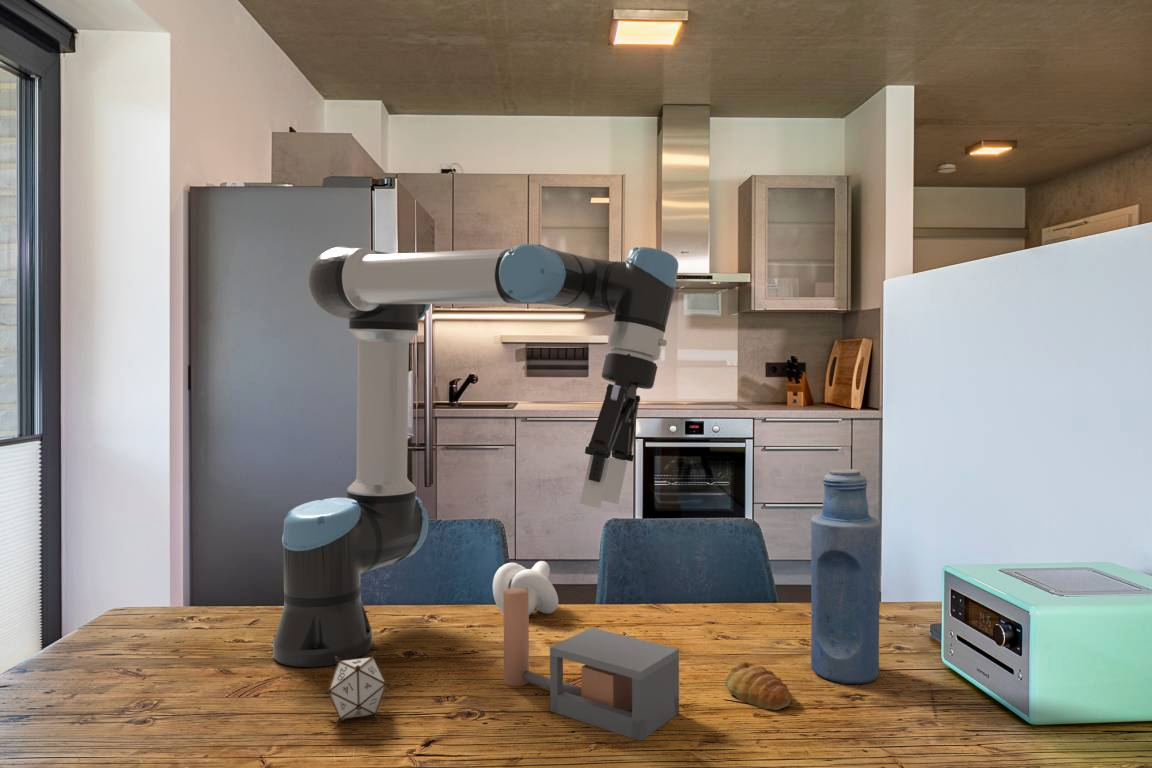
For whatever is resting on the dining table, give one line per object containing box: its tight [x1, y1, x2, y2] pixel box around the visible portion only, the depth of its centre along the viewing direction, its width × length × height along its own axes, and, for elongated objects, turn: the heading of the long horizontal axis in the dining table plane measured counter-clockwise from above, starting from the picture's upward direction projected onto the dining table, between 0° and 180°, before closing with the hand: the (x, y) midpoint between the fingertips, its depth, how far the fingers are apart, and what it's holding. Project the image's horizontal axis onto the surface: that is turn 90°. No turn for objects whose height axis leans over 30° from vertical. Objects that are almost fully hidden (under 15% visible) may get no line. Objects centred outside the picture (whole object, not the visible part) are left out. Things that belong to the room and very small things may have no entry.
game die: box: [322, 650, 393, 727], centre depth 102 cm, size 9×8×10 cm
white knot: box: [492, 560, 559, 616], centre depth 145 cm, size 11×12×9 cm
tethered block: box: [503, 588, 632, 712], centre depth 109 cm, size 20×5×13 cm, turn 53°
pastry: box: [724, 661, 793, 711], centre depth 108 cm, size 9×7×4 cm
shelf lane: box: [549, 627, 680, 742], centre depth 104 cm, size 14×9×8 cm
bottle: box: [810, 468, 881, 685], centre depth 116 cm, size 10×10×30 cm
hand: (600, 504), depth 111 cm, fingers open, 13 cm apart
